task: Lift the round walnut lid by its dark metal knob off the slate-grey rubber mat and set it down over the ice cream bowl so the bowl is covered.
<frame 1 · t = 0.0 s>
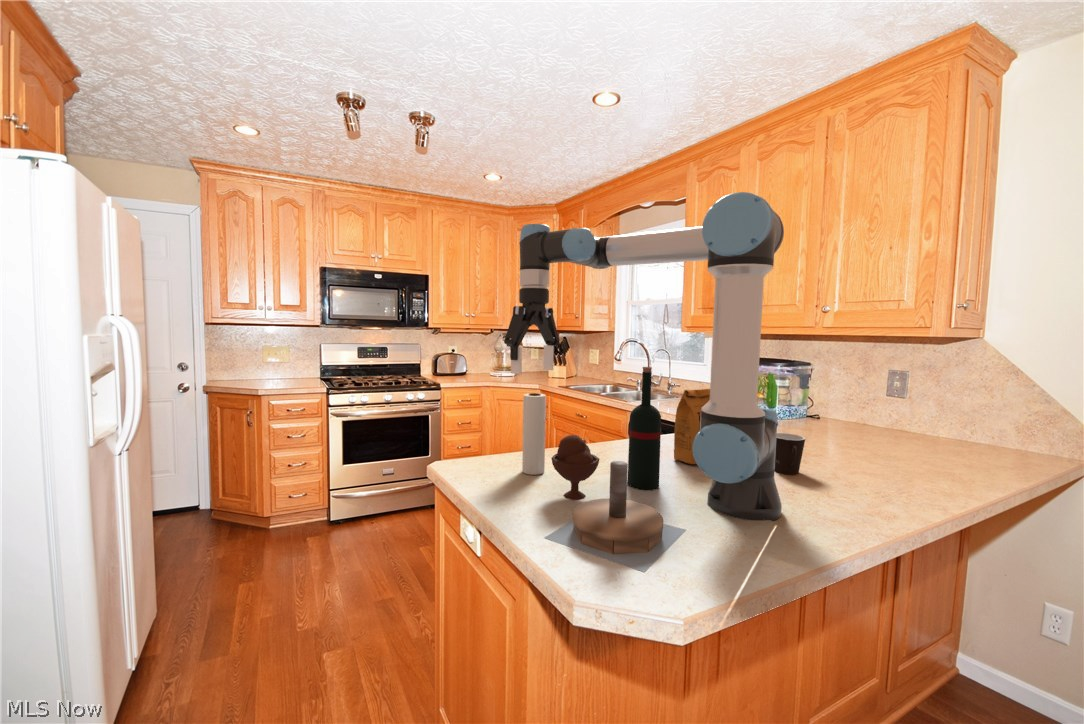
hand: (532, 371, 121), 28 cm above the table, fingers open, 13 cm apart
coffee package: (696, 462, 141), on the table
lid: (616, 533, 90), resting on mat
mat: (616, 536, 90), on the table
ice cream bowl: (574, 498, 110), on the table
coffee mug: (784, 473, 132), on the table
paper towel roll: (534, 472, 129), on the table
wine bottle: (640, 484, 120), on the table
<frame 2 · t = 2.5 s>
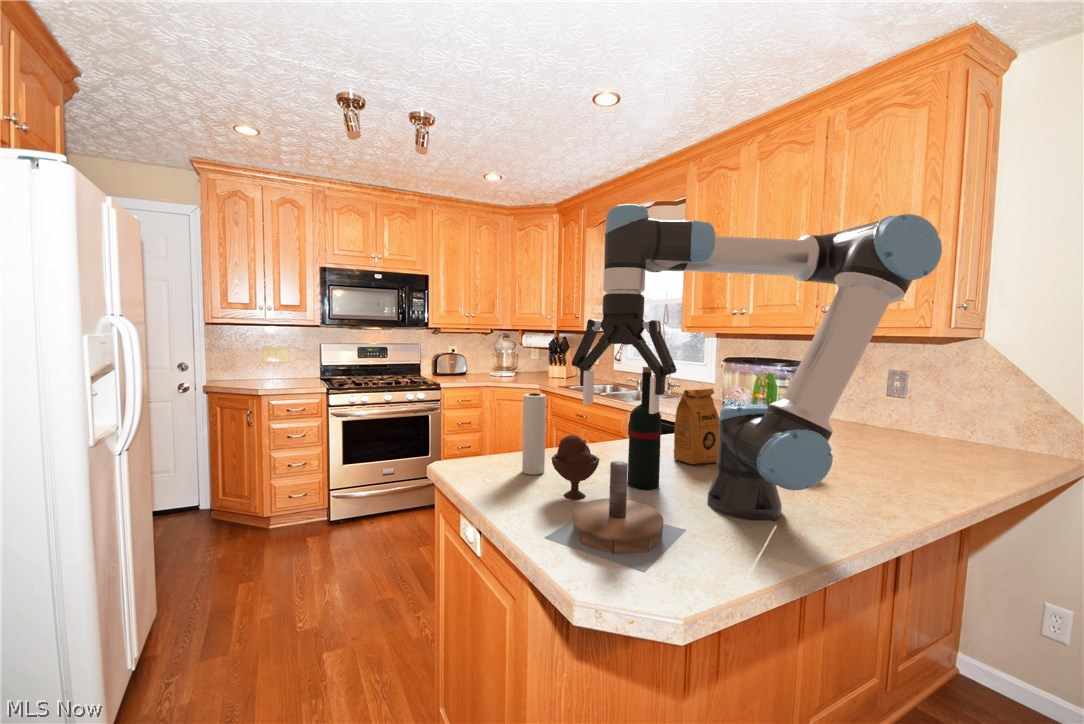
hand: (619, 408, 88), 25 cm above the table, fingers open, 13 cm apart
nothing on the table moved.
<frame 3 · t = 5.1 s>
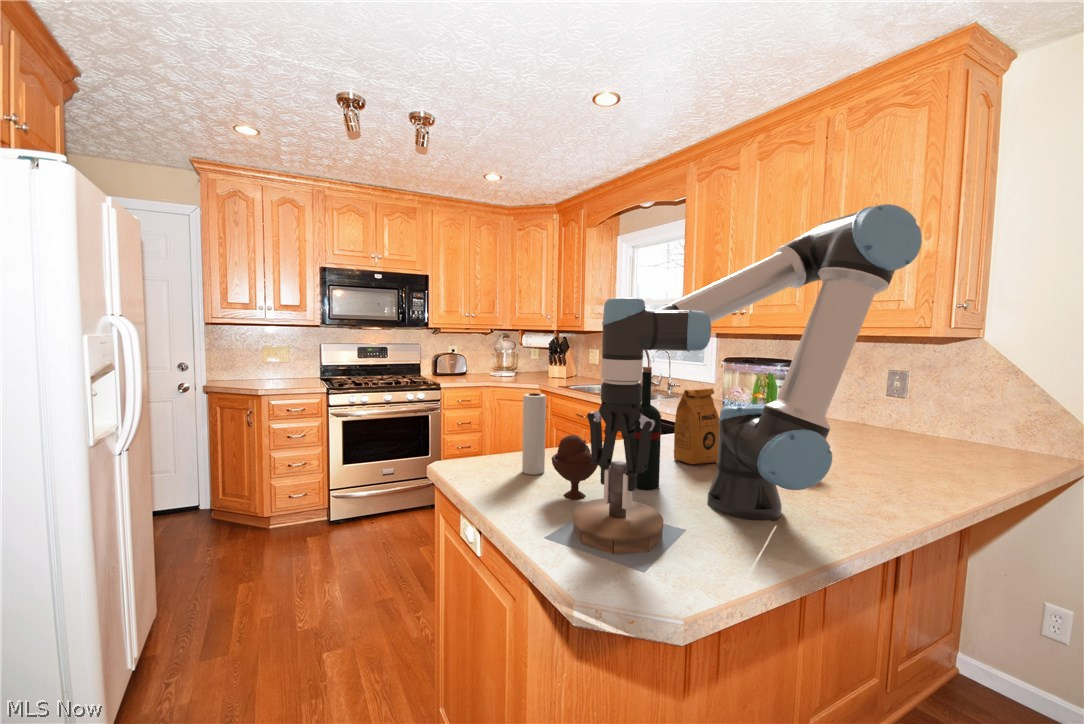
hand: (617, 503, 90), 6 cm above the table, fingers closed on lid, 3 cm apart
lid: (616, 533, 90), resting on mat, touching gripper
everything else where it was.
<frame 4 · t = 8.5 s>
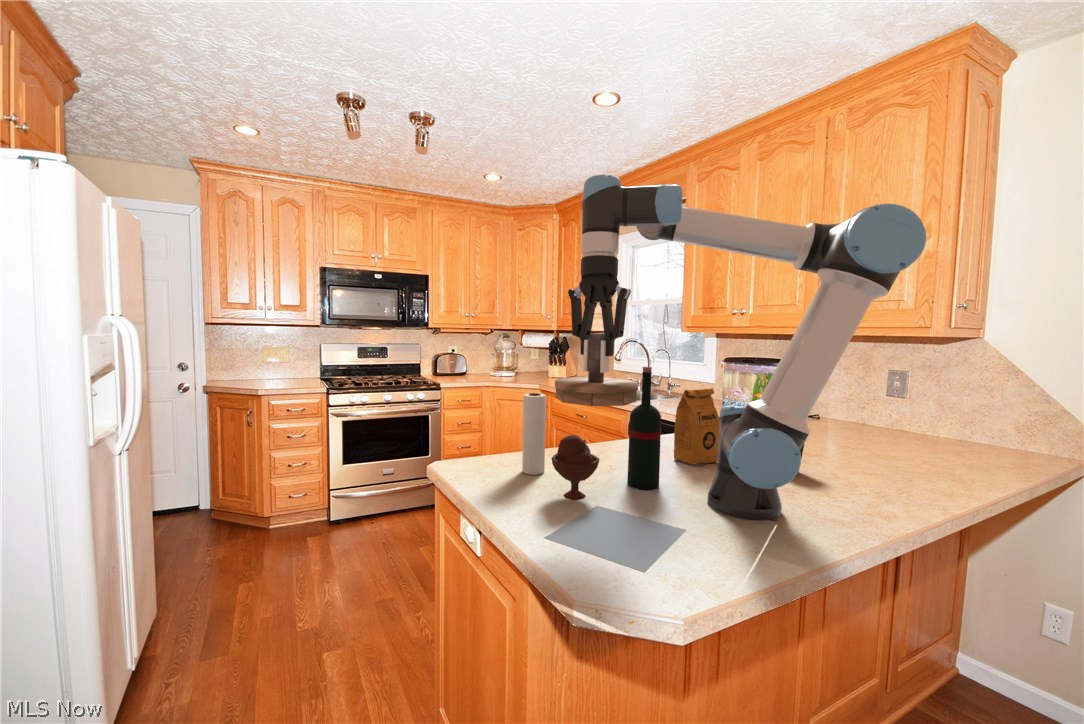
hand: (596, 371, 98), 31 cm above the table, fingers closed on lid, 3 cm apart
lid: (595, 399, 98), point 25 cm above the table, touching gripper
everything else where it was.
when the fingers open (19 cm above the table, at t = 12.2 s): lid stays where it is, resting on ice cream bowl.
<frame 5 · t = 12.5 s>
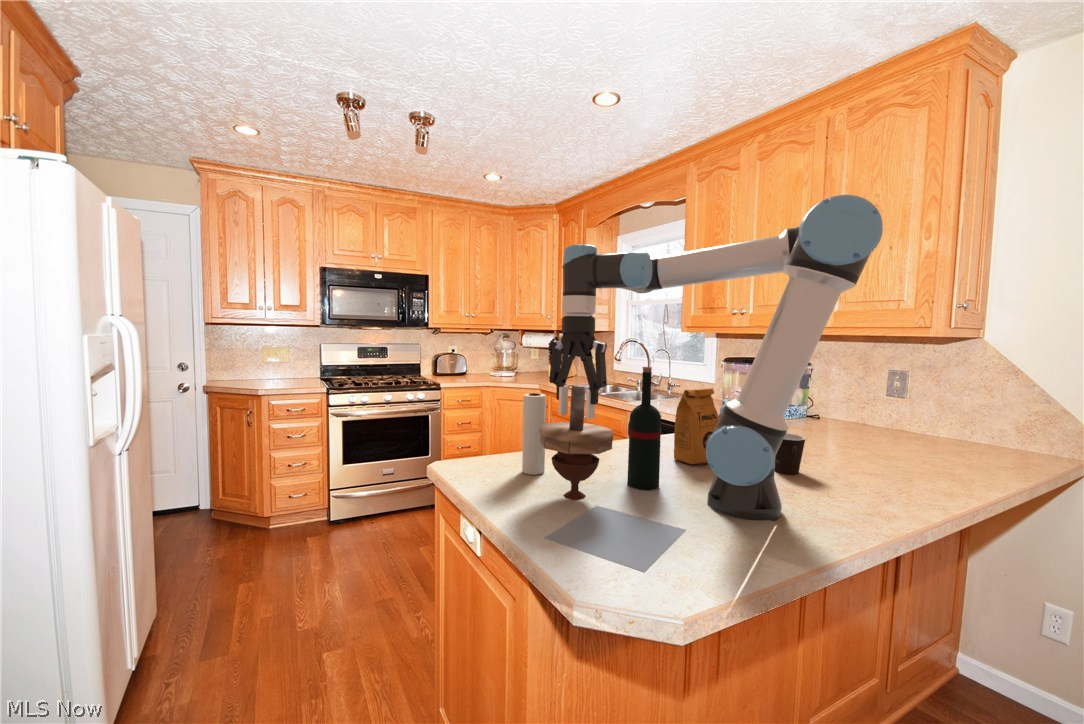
hand: (576, 416, 108), 19 cm above the table, fingers open, 7 cm apart
lid: (575, 445, 109), point 12 cm above the table, touching ice cream bowl
ice cream bowl: (574, 498, 110), on the table, touching lid
everything else where it was.
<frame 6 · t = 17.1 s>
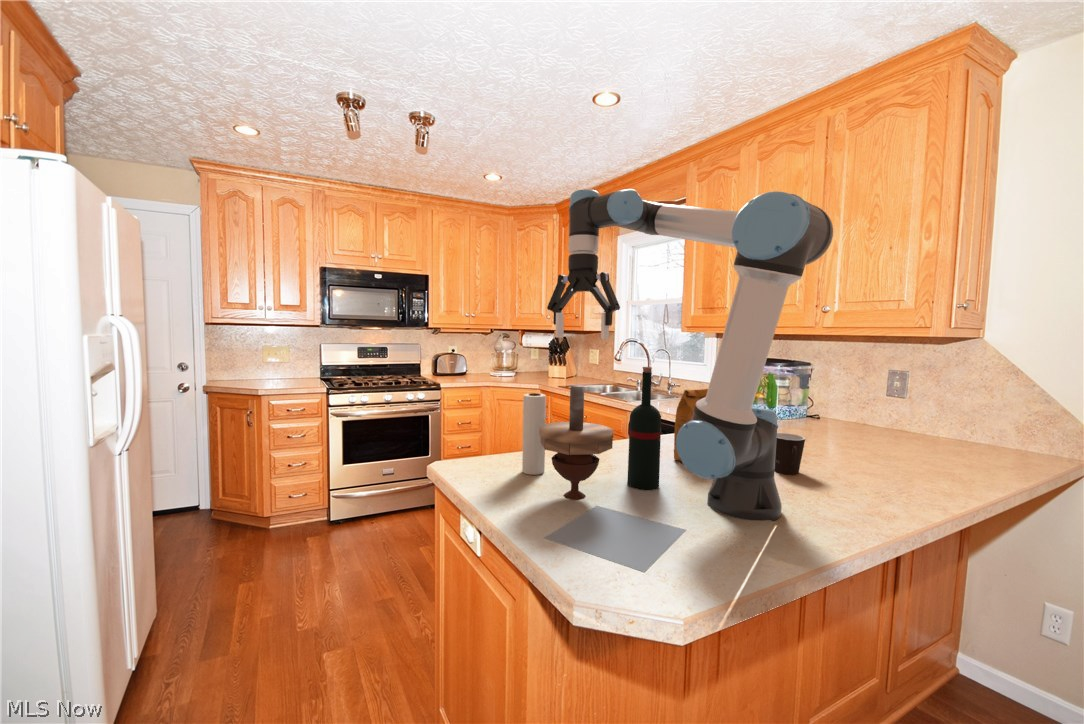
hand: (581, 338, 121), 37 cm above the table, fingers open, 13 cm apart
nothing on the table moved.
at the end: lid 0.1 cm from the ice cream bowl (horizontally); lid point 12.5 cm above the table; lid tilted 0° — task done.
